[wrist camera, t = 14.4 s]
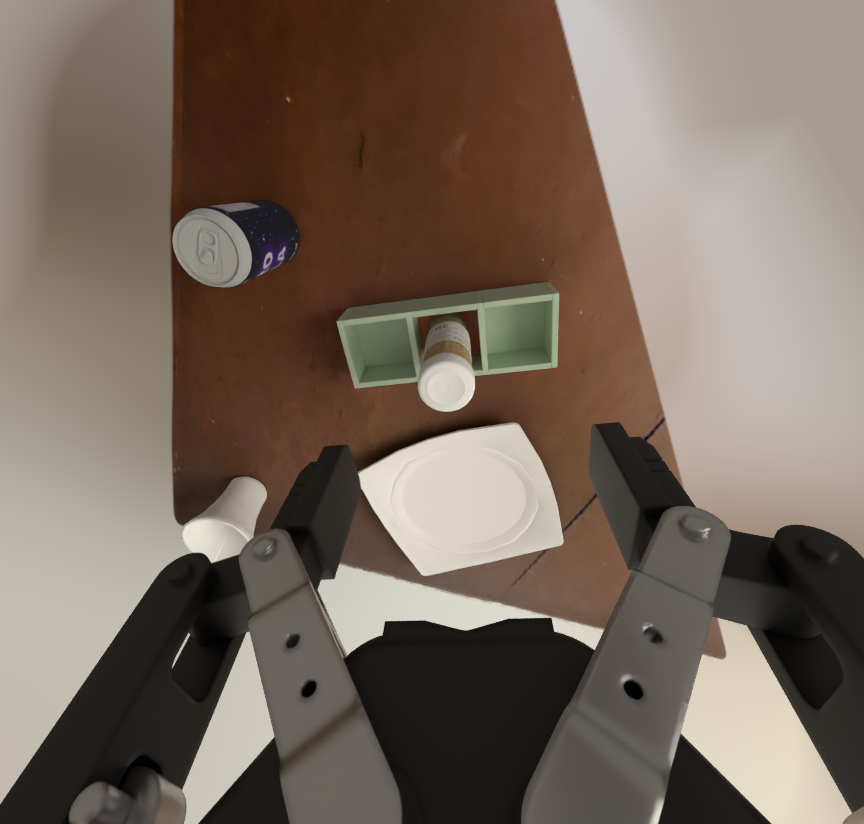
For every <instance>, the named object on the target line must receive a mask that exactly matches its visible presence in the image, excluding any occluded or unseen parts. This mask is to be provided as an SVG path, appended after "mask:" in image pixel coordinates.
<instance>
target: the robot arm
mask: <svg viewBox="0 0 864 824" xmlns="http://www.w3.org/2000/svg"><path fill="white" fill-rule="evenodd" d="M589 473H590V478H591V481H592V484H593V486H594V488H595V491H596V493H597V496H598V498H599V500H600V503H601V505H602V508H603V510H604V512H605V515H606V517H607V519H608V522H609V524H610V527H611V529H612V531H613V534H614V536H615V538H616V541H617V543H618V546H619V548H620V550H621V553H622V555H623V558H624V560H625V562H626V565H627V567H628V569H629V570H631V569H633V571H632V572H631V574H630V576H629V578H628V581H627V583H626V585H625V587H624V589H623V591H622V593H621V596H620V598H619V600H618V602H617V604H616V606H615V608H614V610H613V613H612V615H611V617H610V619H609V621H608V623H607V625H606V628H605V630H604V632H603V634H602V636H601V639H600V640H599V643H598V645H597V647H596V649H595V650H593V649H592V648H590V647H589V646H587V645H586V644H584V643H582V642H580V641H578V640H576V639H574V638H572V637H569V636H567V635H564V634H561V633H557V632H554V629H553V624H552V619H551V618H530V619H529V618H524V619H506V620H503V621H500V622H496V623H493V624H489V625H486V626H482V627H479V628H476V629H472V630H468V631H464V630H459V629H455V628H451V627H447V626H443V625H440V624H436V623H431V622H428V621H387V622H386V621H385V625H384V632H383V635H382V636H379V637H376V638H374V639H372V640H370V641H367V642H366V643H364V644H362V645H360V646H359V647H358V648H356V649H355V650H354V651H352V652H351V653H350V654H349V655H348V656H347V654H346V651H345V649H344V648H343V645H342V643H341V641H340V639H339V636H338V634H337V632H336V630H335V628H334V625H333V623H332V621H331V619H330V617H329V614H328V612H327V610H326V608H325V606H324V603H323V601H322V599H321V596H320V594H319V592H318V590H317V589H318V586H319V584H320V581H321V580H323V579H334V578H335V575H336V571H337V568H338V565H339V562H340V559H341V556H342V552H343V549H344V546H345V543H346V539H347V536H348V533H349V530H350V526H351V523H352V520H353V517H354V513H355V510H356V507H357V504H358V501H359V497H360V492H361V484H360V478H359V475H358V472H357V469H356V466H355V463H354V460H353V457H352V454H351V451H350V448H349V446H348V445H336V446H325V447H324V448H323V450H322V452H321V454H320V456H319V458H318V460H317V462H310V463H309V464H308V465H307V466H306V467H305V468H304V469H303V470H302V471H301V472H300V473H299V475H298V477H297V479H296V481H295V483H294V486H292V488H291V490H290V492H289V496H287V498H286V500H285V501H284V503H283V505H282V507H281V509H280V511H279V513H278V515H277V517H276V518H275V520H274V522H273V524H272V526H271V528H270V530H267V531H264V532H262V533H259V534H258V535H256V536H255V537H253V538H252V539H251V540H250V541H248V542H247V543H246V545H245V546H244V547H243V549H242V550H241V552H240V554H238V555H235V556H232V557H229V558H226V559H223V560H220V561H217V562H213V563H211V561H210V560H209V558H208V557H207V556H206V555H205V554H203V553H191V554H187V555H184V556H182V557H180V558H178V559H176V560H174V561H173V562H172V563H170V564H169V565H167V566H166V567H165V568H164V569H163V570H162V571H161V572H160V573H159V575H158V576H157V578H156V579H155V580H154V582H153V583H152V584H151V586H150V587H149V589H148V591H147V592H146V593H145V595H144V596H143V598H142V599H141V600H140V602H139V604H138V605H137V606H136V608H135V609H134V611H133V612H132V614H131V615H130V616H129V618H128V619H127V621H126V622H125V624H124V625H123V627H122V628H121V630H120V631H119V632H118V634H117V635H116V637H115V638H114V640H113V641H112V643H111V644H110V646H109V647H108V648H107V650H106V651H105V653H104V654H103V656H102V657H101V659H100V660H99V662H98V663H97V665H96V666H95V667H94V669H93V671H92V672H91V673H90V675H89V676H88V678H87V679H86V680H85V682H84V683H83V685H82V686H81V688H80V689H79V691H78V692H77V694H76V695H75V696H74V698H73V699H72V701H71V702H70V704H69V705H68V707H67V708H66V710H65V711H64V712H63V714H62V715H61V717H60V718H59V720H58V721H57V723H56V724H55V726H54V727H53V728H52V730H51V731H50V733H49V734H48V736H47V737H46V739H45V740H44V742H43V743H42V744H41V746H40V748H39V749H38V750H37V752H36V753H35V755H34V756H33V758H32V759H31V760H30V762H29V763H28V765H27V766H26V768H25V769H24V771H23V772H22V774H21V775H20V776H19V778H18V780H17V781H16V782H15V784H14V785H13V787H12V788H11V790H10V791H9V793H8V794H7V795H6V797H5V798H4V800H3V801H2V803H1V804H0V824H184V821H185V815H186V798H185V796H184V793H183V792H182V789H183V786H184V784H185V781H186V779H187V776H188V774H189V771H190V769H191V767H192V764H193V762H194V759H195V757H196V754H197V752H198V749H199V747H200V745H201V742H202V739H203V737H204V735H205V732H206V730H207V727H208V725H209V722H210V720H211V718H212V715H213V713H214V710H215V708H216V705H217V703H218V700H219V698H220V696H221V693H222V691H223V688H224V686H225V683H226V681H227V678H228V676H229V673H230V671H231V669H232V666H233V664H234V661H235V659H236V656H237V654H238V651H239V649H240V647H241V644H242V642H243V639H244V637H245V634H246V632H249V631H250V635H251V639H252V643H253V647H254V652H255V656H256V660H257V664H258V668H259V672H260V676H261V681H262V685H263V689H264V693H265V698H266V702H267V706H268V710H269V714H270V719H271V723H272V727H273V731H274V735H275V737H274V738H273V739H272V740H271V742H270V743H269V744H268V745H267V746H266V747H265V748H264V750H263V751H262V752H261V753H260V754H259V755H258V756H257V758H256V759H255V760H254V761H253V762H252V763H251V764H250V765H249V767H248V768H247V769H246V770H245V771H244V772H243V773H242V775H241V776H240V777H239V778H238V779H237V780H236V781H235V782H234V784H233V785H232V786H231V787H230V788H229V789H228V790H227V792H226V793H225V794H224V795H223V796H222V797H221V798H220V800H219V801H218V802H217V803H216V804H215V805H214V806H213V807H212V809H211V810H210V811H209V812H208V813H207V814H206V815H205V817H204V818H203V819H202V820H201V821H200V822H199V823H198V824H771V823H770V822H769V821H768V820H767V819H766V818H765V817H764V816H763V815H762V814H761V813H760V812H759V811H758V810H757V809H756V808H755V807H754V806H753V805H752V804H751V803H750V802H749V801H748V800H747V799H746V798H745V797H744V796H743V795H742V794H741V793H740V792H739V791H738V790H737V789H736V788H735V787H734V786H733V785H732V784H731V783H730V782H729V781H728V780H727V779H726V778H725V777H724V776H723V775H722V774H721V773H720V772H719V771H718V770H717V769H716V768H715V767H714V766H713V765H712V764H711V763H710V762H709V761H708V760H707V759H706V758H705V757H704V756H703V755H702V754H701V753H700V752H699V751H698V750H697V749H696V748H695V747H694V746H693V745H692V744H691V743H690V742H688V740H687V739H686V738H685V737H684V736H683V735H682V734H681V730H682V726H683V722H684V719H685V714H686V711H687V708H688V704H689V700H690V696H691V693H692V689H693V685H694V682H695V678H696V674H697V671H698V667H699V663H700V659H701V656H702V652H703V648H704V645H705V641H706V637H707V634H708V630H709V626H710V623H711V619H712V616H713V617H717V618H720V619H724V620H728V621H732V622H736V623H740V624H744V625H747V626H748V628H749V630H750V631H751V633H752V635H753V637H754V639H755V641H756V642H757V644H758V646H759V648H760V650H761V651H762V653H763V655H764V657H765V658H766V660H767V662H768V664H769V666H770V667H771V669H772V671H773V673H774V674H775V676H776V678H777V680H778V682H779V683H780V685H781V687H782V689H783V690H784V692H785V694H786V696H787V698H788V699H789V701H790V703H791V705H792V707H793V708H794V710H795V712H796V714H797V715H798V717H799V719H800V721H801V723H802V724H803V726H804V728H805V730H806V731H807V733H808V735H809V737H810V739H811V740H812V742H813V744H814V746H815V748H816V749H817V751H818V753H819V755H820V756H821V758H822V760H823V762H824V764H825V765H826V767H827V769H828V771H829V772H830V774H831V776H832V778H833V780H834V781H835V783H836V785H837V787H838V789H839V790H840V792H841V794H842V796H843V797H844V799H845V801H846V803H847V804H848V806H849V808H850V810H851V812H852V814H851V815H850V816H848V817H847V818H846V819H845V821H844V822H843V824H864V558H863V557H862V556H861V555H860V554H859V553H858V552H857V551H856V550H855V549H854V548H852V546H851V545H849V544H848V543H847V542H845V541H844V540H842V539H841V538H839V537H837V536H835V535H833V534H831V533H829V532H826V531H824V530H821V529H818V528H815V527H810V526H804V525H789V526H785V527H782V528H781V529H779V530H778V531H777V533H776V534H775V537H774V538H769V537H764V536H758V535H753V534H747V533H742V532H737V531H733V530H730V529H728V528H727V526H726V525H725V524H724V523H723V522H722V521H721V520H720V519H719V518H718V517H716V516H715V515H713V514H711V513H709V512H707V511H705V510H702V509H699V508H696V507H695V505H694V504H693V502H692V501H691V499H690V498H689V496H688V495H687V494H686V492H685V491H684V489H683V488H682V486H681V485H680V484H679V482H678V481H677V479H676V478H675V476H674V475H673V474H672V472H671V471H669V468H668V466H667V465H666V464H665V462H664V461H662V458H661V456H660V455H659V453H658V452H657V451H656V449H655V448H654V446H652V445H651V444H649V443H648V442H646V441H645V440H643V439H642V438H640V437H630V438H629V436H628V435H627V433H626V431H625V430H624V428H623V427H622V425H621V424H620V423H619V422H615V423H603V424H593V426H592V429H591V440H590V452H589ZM188 633H189V634H190V636H189V638H188V640H187V642H186V644H185V646H184V648H183V650H182V652H181V653H180V655H179V657H178V659H177V661H176V663H175V665H174V667H173V669H172V665H173V662H174V659H175V657H176V655H177V653H178V651H179V649H180V647H181V645H182V643H183V642H184V640H185V638H186V636H187V634H188Z"/></svg>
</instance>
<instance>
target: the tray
mask: <svg viewBox="0 0 864 824" xmlns="http://www.w3.org/2000/svg"><path fill="white" fill-rule="evenodd" d="M454 312H455V313H458V314H460V315H462V316H463V317H464V318H465V319H466V321H467V323H468V325H469V328H470V333H469V334H470V335H469V337H470V346H471V359H472V365H471V366H472V369H473V371H474V376H478V375H488V374H498V373H508V372H517V371H527V370H536V369H546V368H555V367H557V353H558V312H559V293H558V292H557V290H556V289H555V288H554V287H553V286H552V285H551V284H550V282H542V283H534V284H527V285H519V286H511V287H504V288H496V289H489V290H481V291H473V292H466V293H458V294H450V295H443V296H435V297H427V298H420V299H412V300H405V301H397V302H389V303H382V304H374V305H366V306H359V307H351V308H347V309H346V311H345V312H344V313H343V314H342V315H341V316H340V318H339V319H338V320H337V321H336V323H337V326H338V330H339V333H340V337H341V341H342V344H343V348H344V351H345V355H346V359H347V362H348V366H349V369H350V373H351V376H352V380H353V384H354V387H355V388H362V387H372V386H382V385H391V384H401V383H411V382H418V378H419V372H420V369H421V367H422V365H423V356H424V350H425V345H426V340H427V336H428V327H429V325H430V322H431V321H432V319H433V318H434V317H435V316H436V315H439V314H446V313H454Z"/></svg>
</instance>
